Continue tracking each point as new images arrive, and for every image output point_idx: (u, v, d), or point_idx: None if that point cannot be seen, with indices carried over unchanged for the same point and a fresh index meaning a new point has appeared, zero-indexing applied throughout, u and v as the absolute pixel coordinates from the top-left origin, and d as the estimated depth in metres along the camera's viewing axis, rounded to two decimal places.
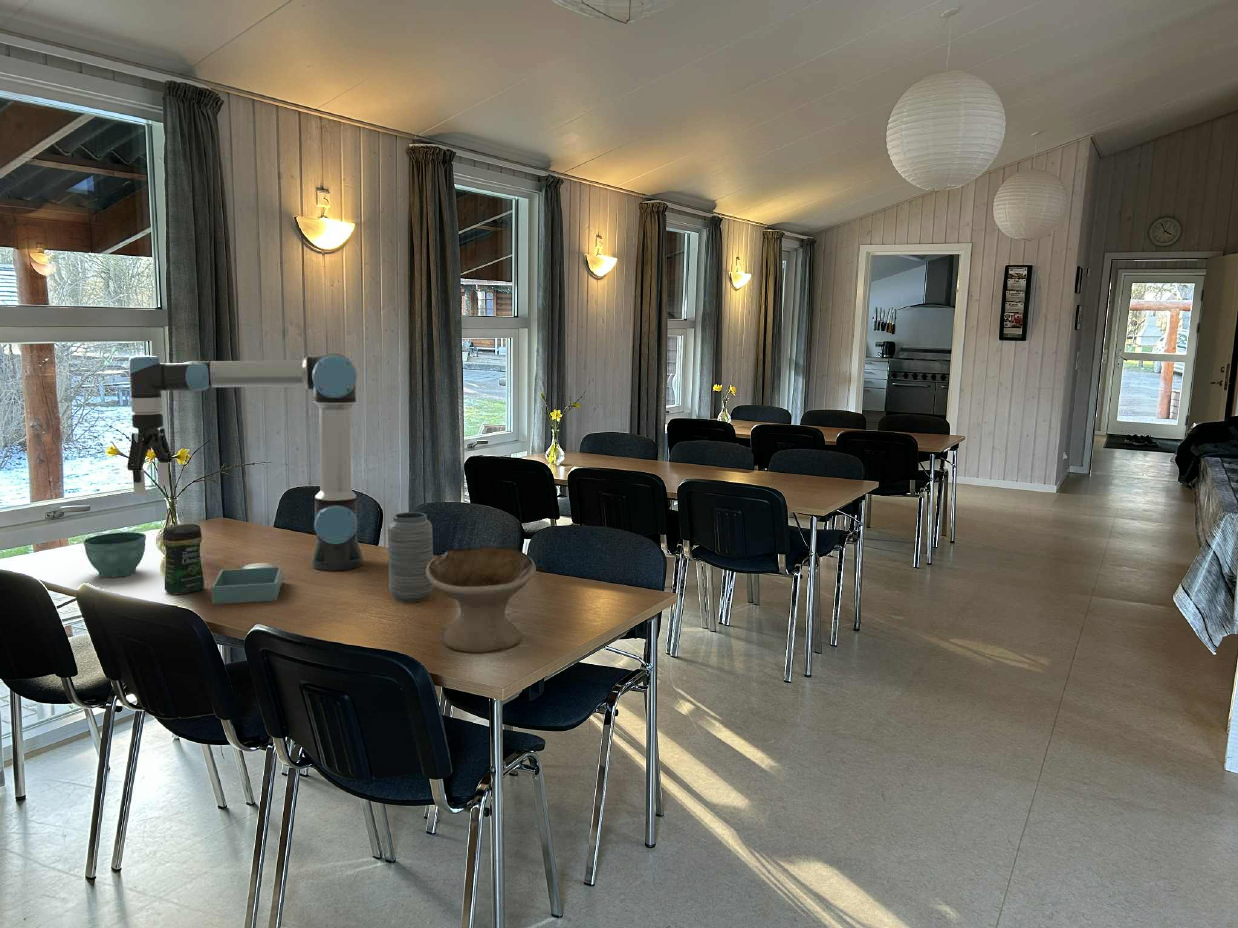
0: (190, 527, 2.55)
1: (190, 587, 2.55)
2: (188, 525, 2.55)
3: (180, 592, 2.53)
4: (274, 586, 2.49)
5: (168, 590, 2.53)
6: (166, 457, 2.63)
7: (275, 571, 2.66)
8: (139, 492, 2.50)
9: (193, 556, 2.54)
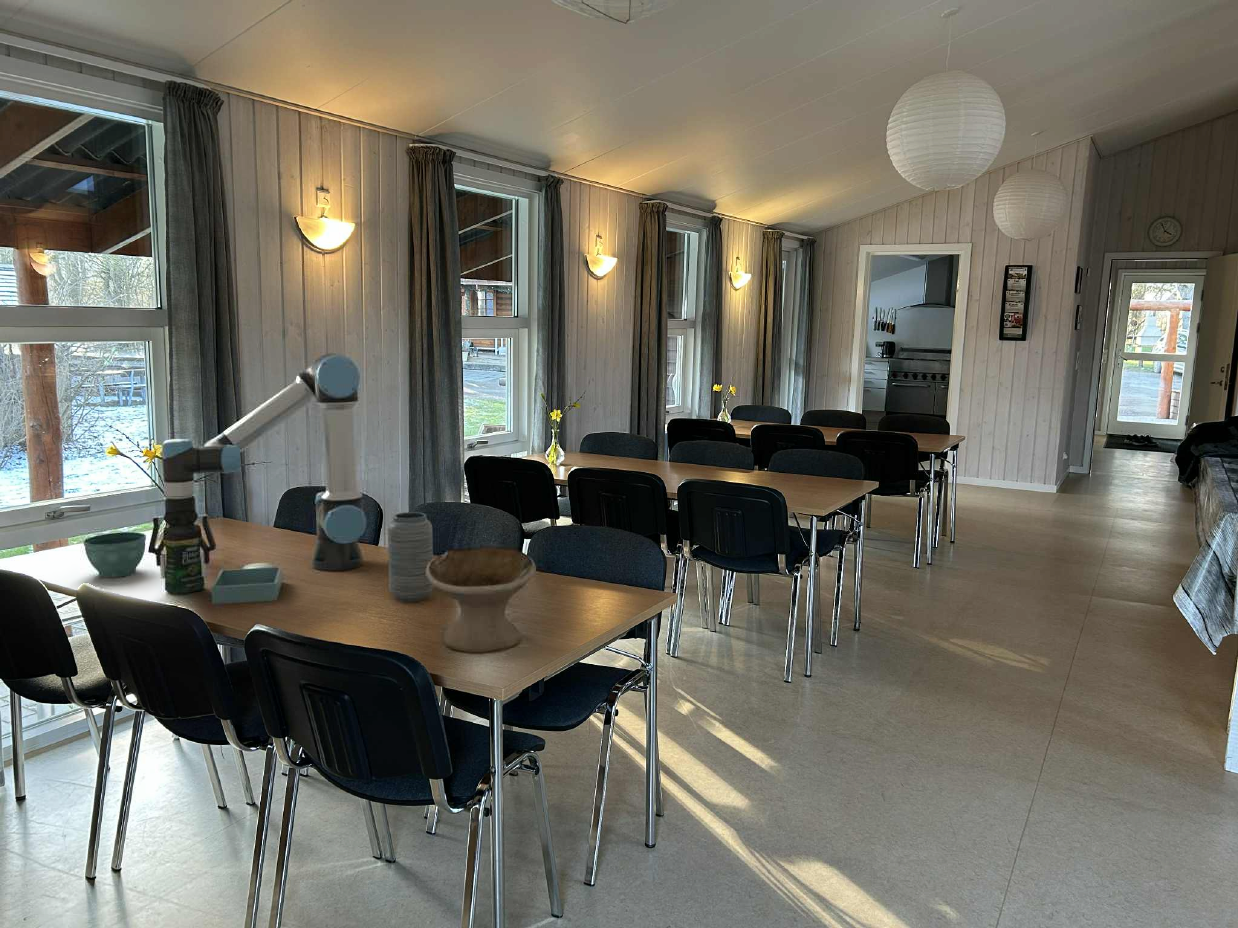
0: None
1: (190, 587, 2.55)
2: None
3: (180, 592, 2.53)
4: (274, 586, 2.49)
5: (168, 590, 2.53)
6: (203, 547, 2.56)
7: (275, 571, 2.66)
8: None
9: (193, 556, 2.54)
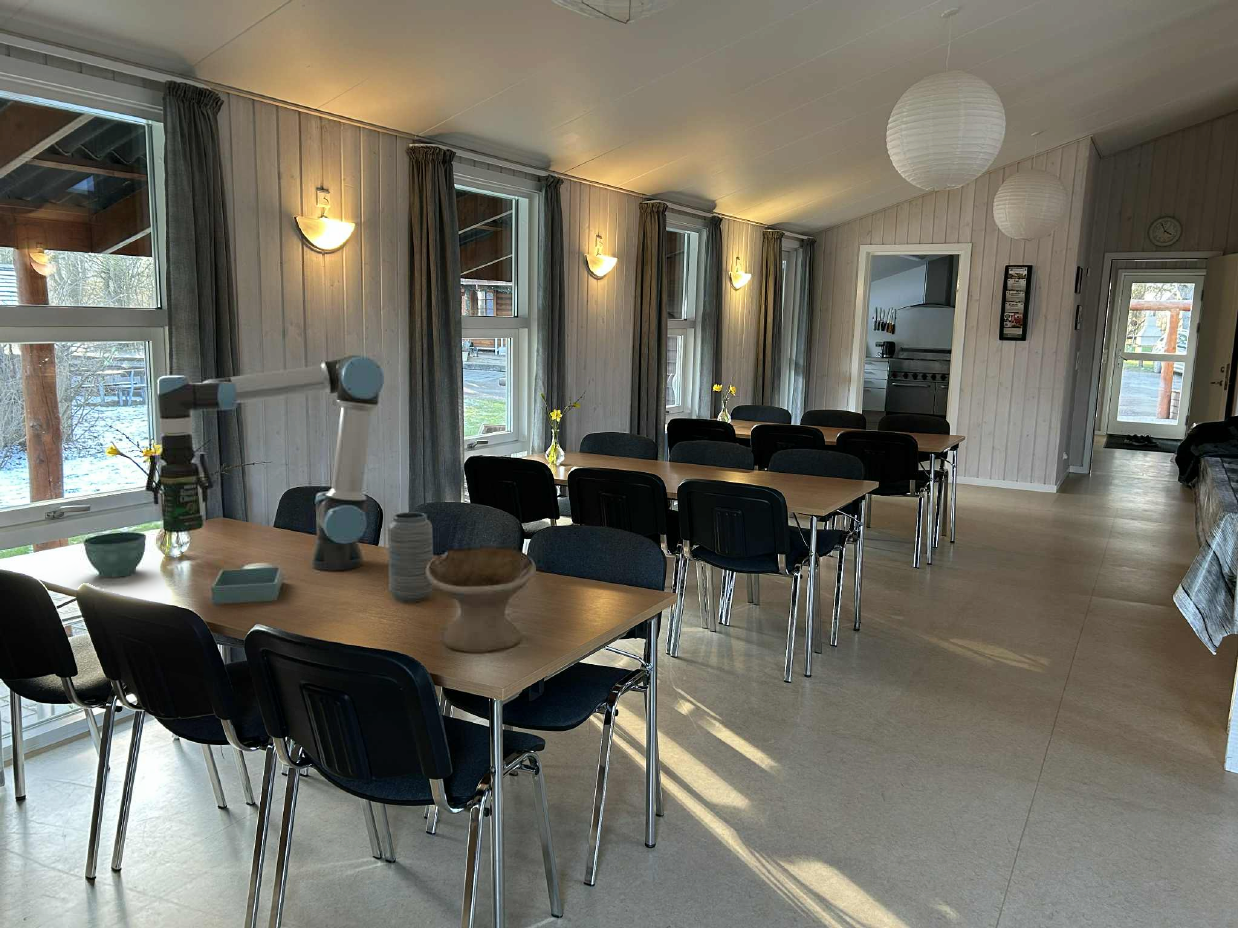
0: None
1: (188, 526, 2.52)
2: None
3: (179, 530, 2.51)
4: (274, 586, 2.49)
5: (167, 528, 2.51)
6: (201, 485, 2.54)
7: (275, 571, 2.66)
8: None
9: (191, 494, 2.52)
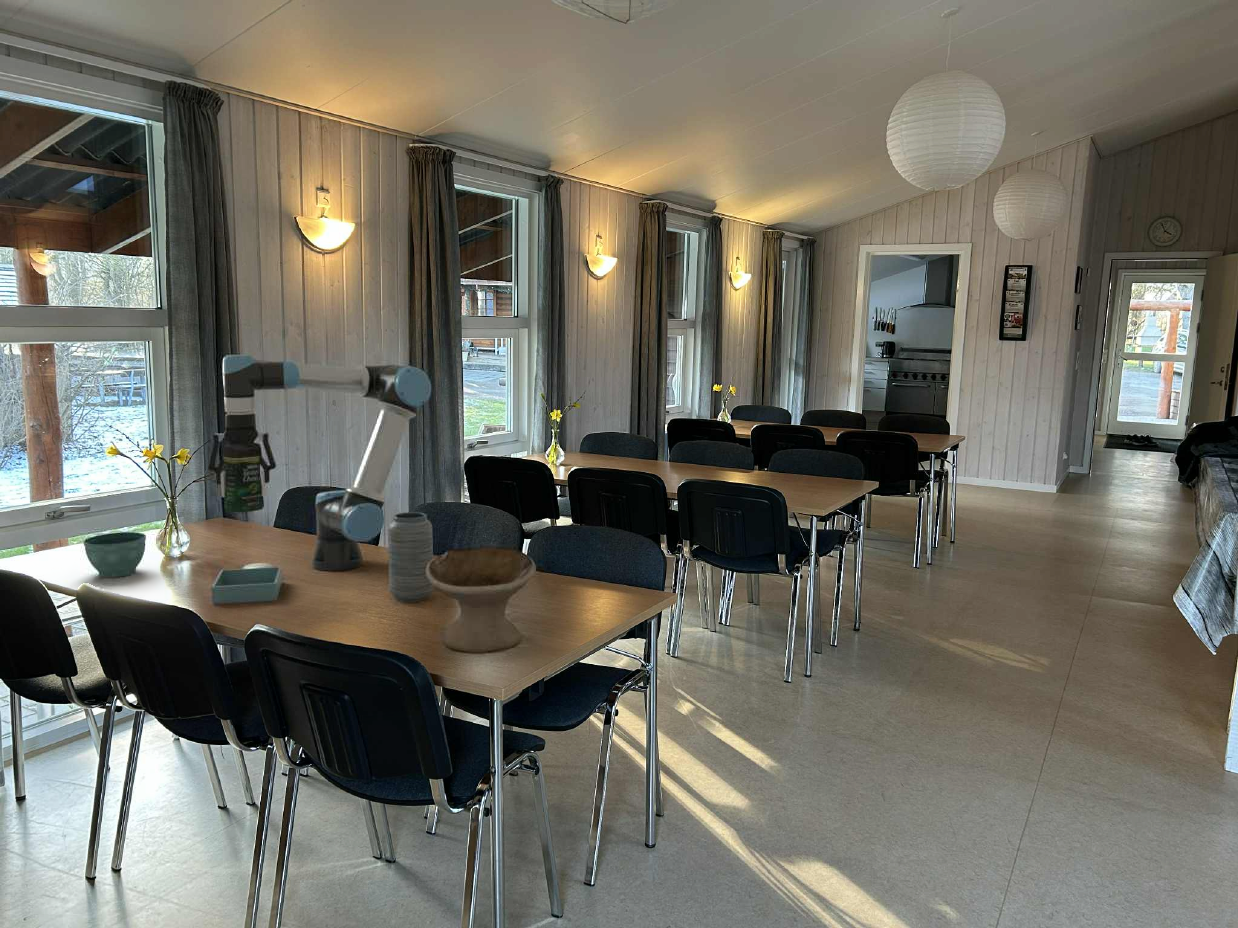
0: None
1: (250, 506, 2.50)
2: None
3: (241, 510, 2.48)
4: (274, 586, 2.49)
5: (229, 508, 2.49)
6: (263, 465, 2.52)
7: (275, 571, 2.66)
8: None
9: (253, 474, 2.50)
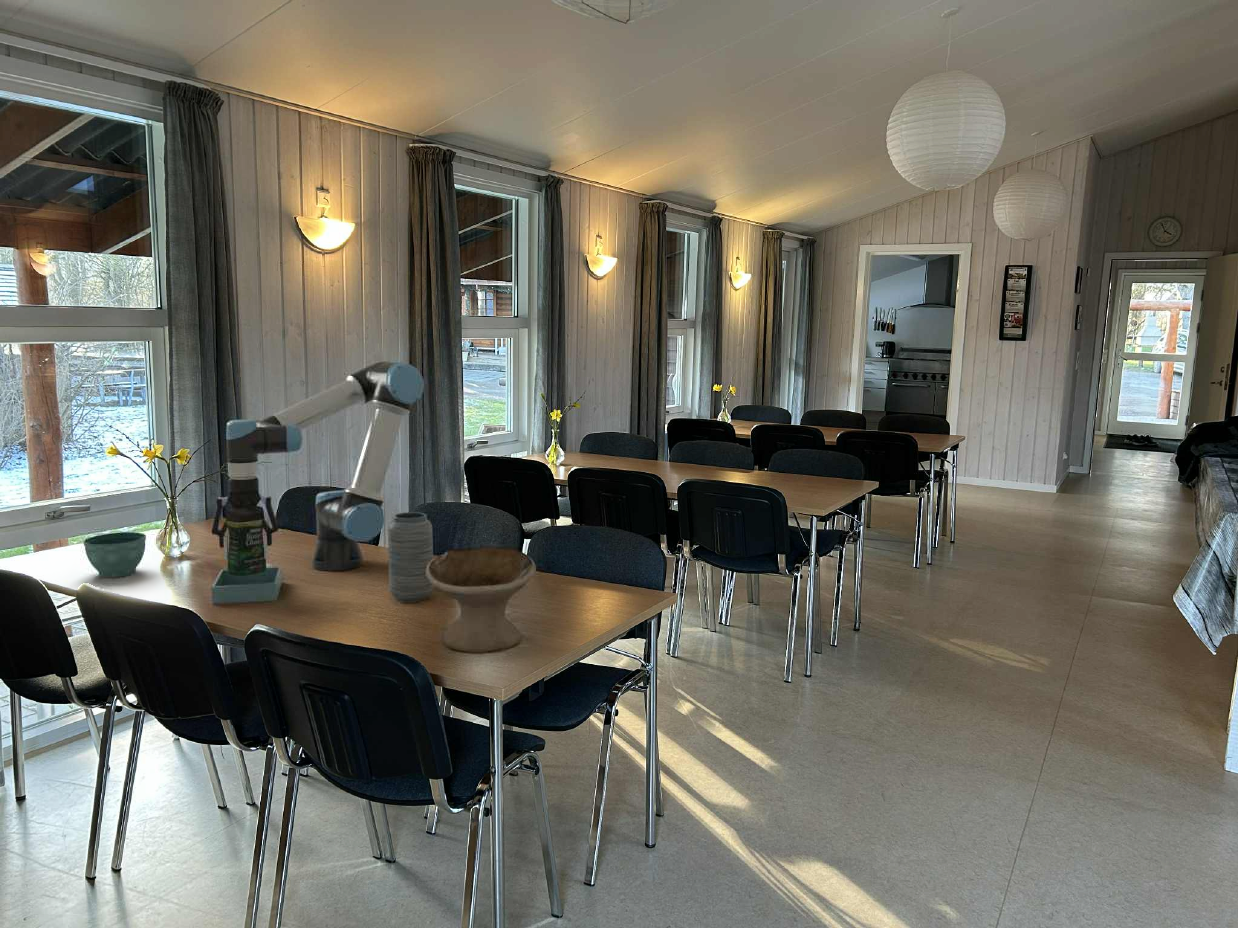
0: None
1: (253, 569, 2.53)
2: None
3: (244, 574, 2.51)
4: (274, 586, 2.49)
5: (231, 572, 2.51)
6: (266, 529, 2.54)
7: (275, 571, 2.66)
8: None
9: (256, 538, 2.52)
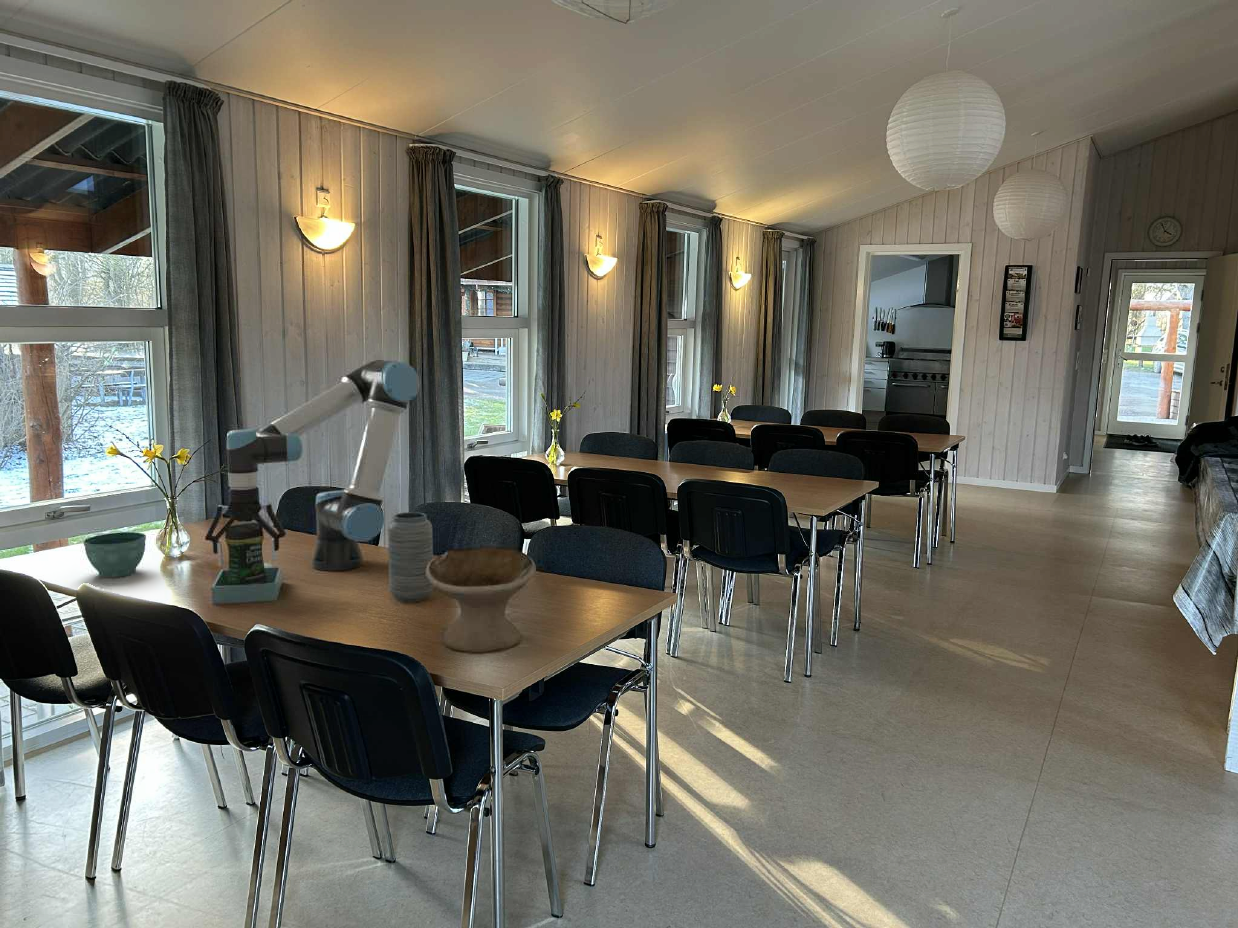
0: (253, 526, 2.54)
1: None
2: (250, 524, 2.54)
3: None
4: (274, 586, 2.49)
5: None
6: (272, 534, 2.55)
7: (275, 571, 2.66)
8: None
9: (256, 554, 2.53)
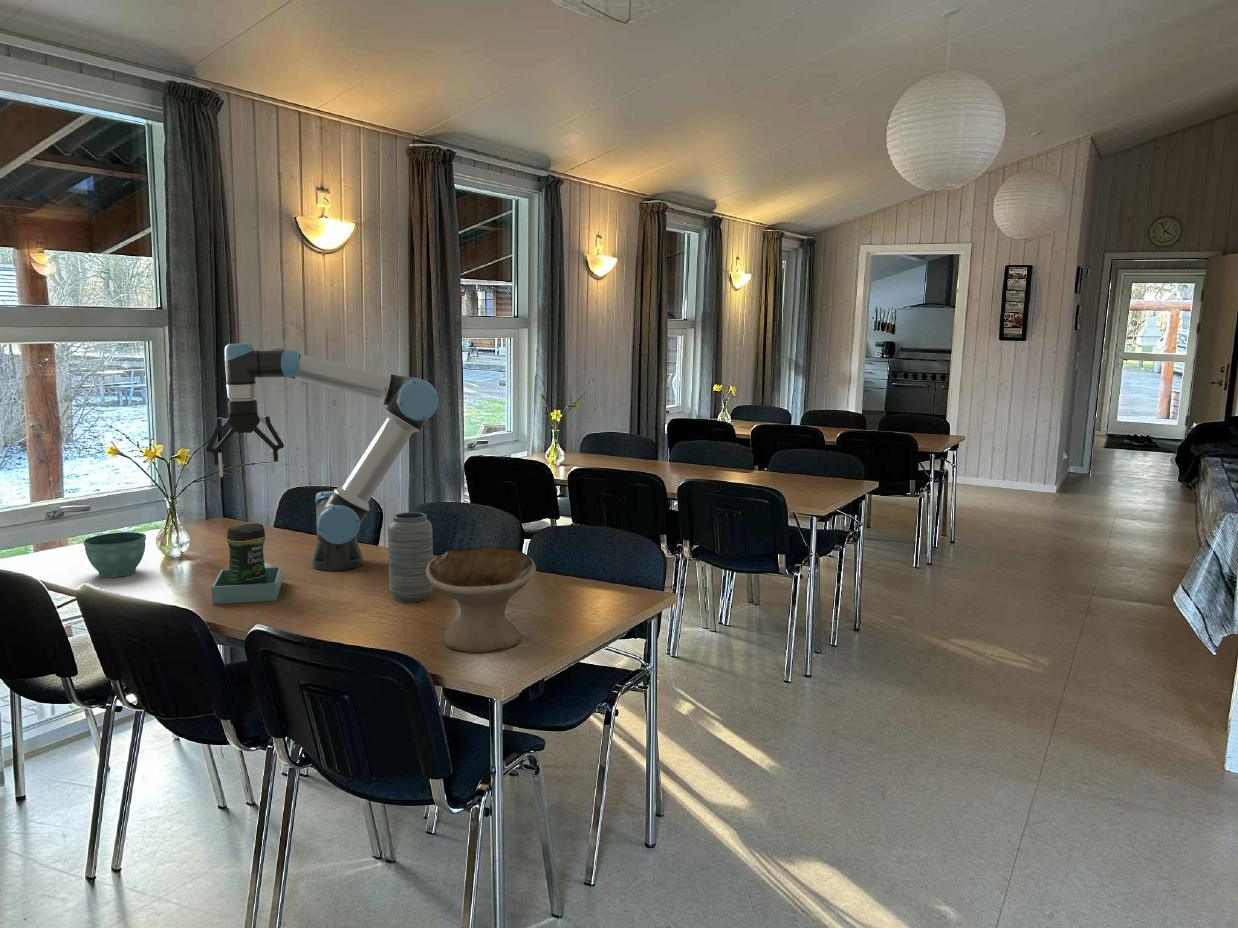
0: (255, 527, 2.54)
1: None
2: (252, 524, 2.54)
3: None
4: (274, 586, 2.49)
5: None
6: (271, 445, 2.63)
7: (275, 571, 2.66)
8: None
9: (257, 555, 2.53)
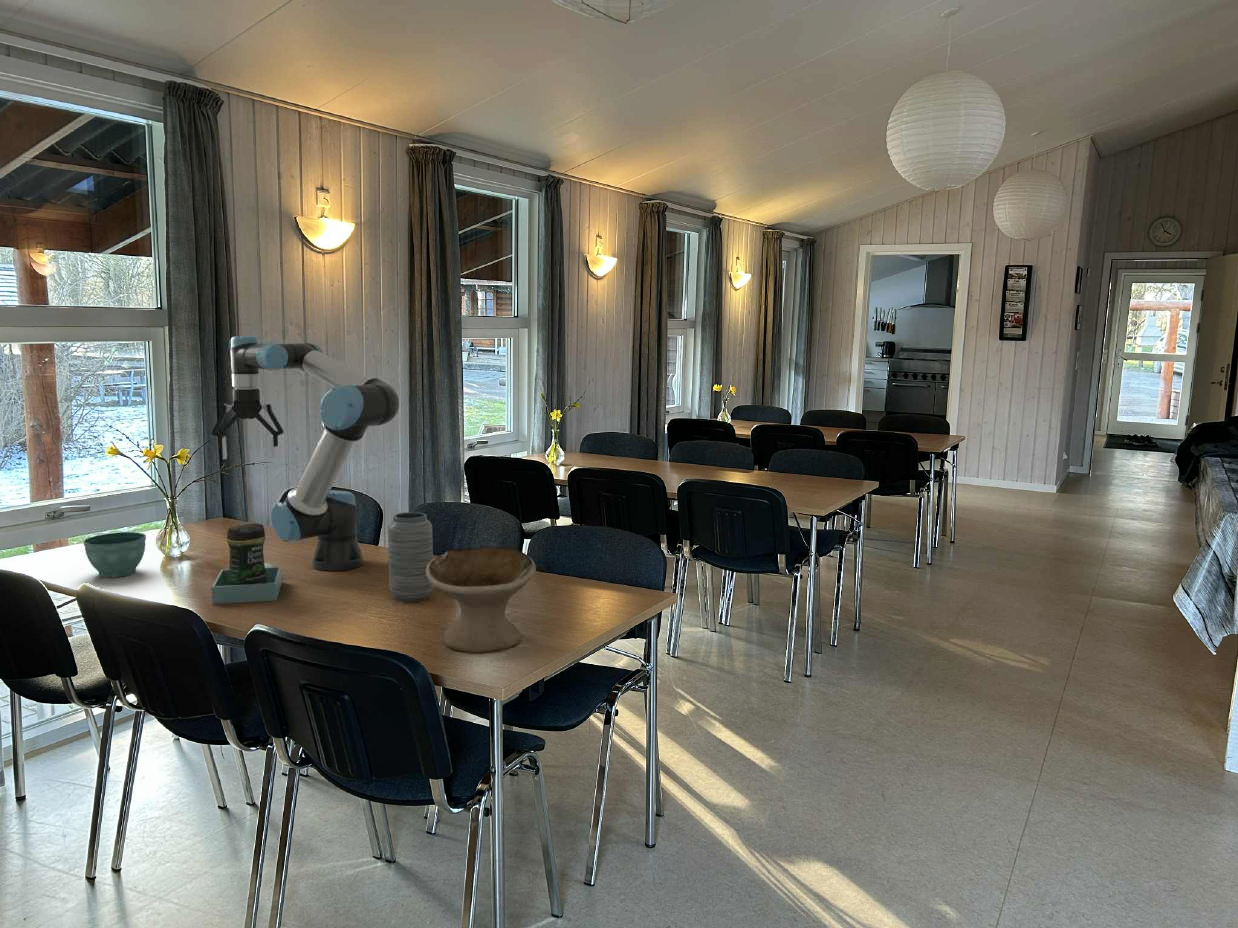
0: (255, 527, 2.54)
1: None
2: (252, 524, 2.54)
3: None
4: (274, 586, 2.49)
5: None
6: (271, 431, 2.83)
7: (275, 571, 2.66)
8: None
9: (257, 555, 2.53)
